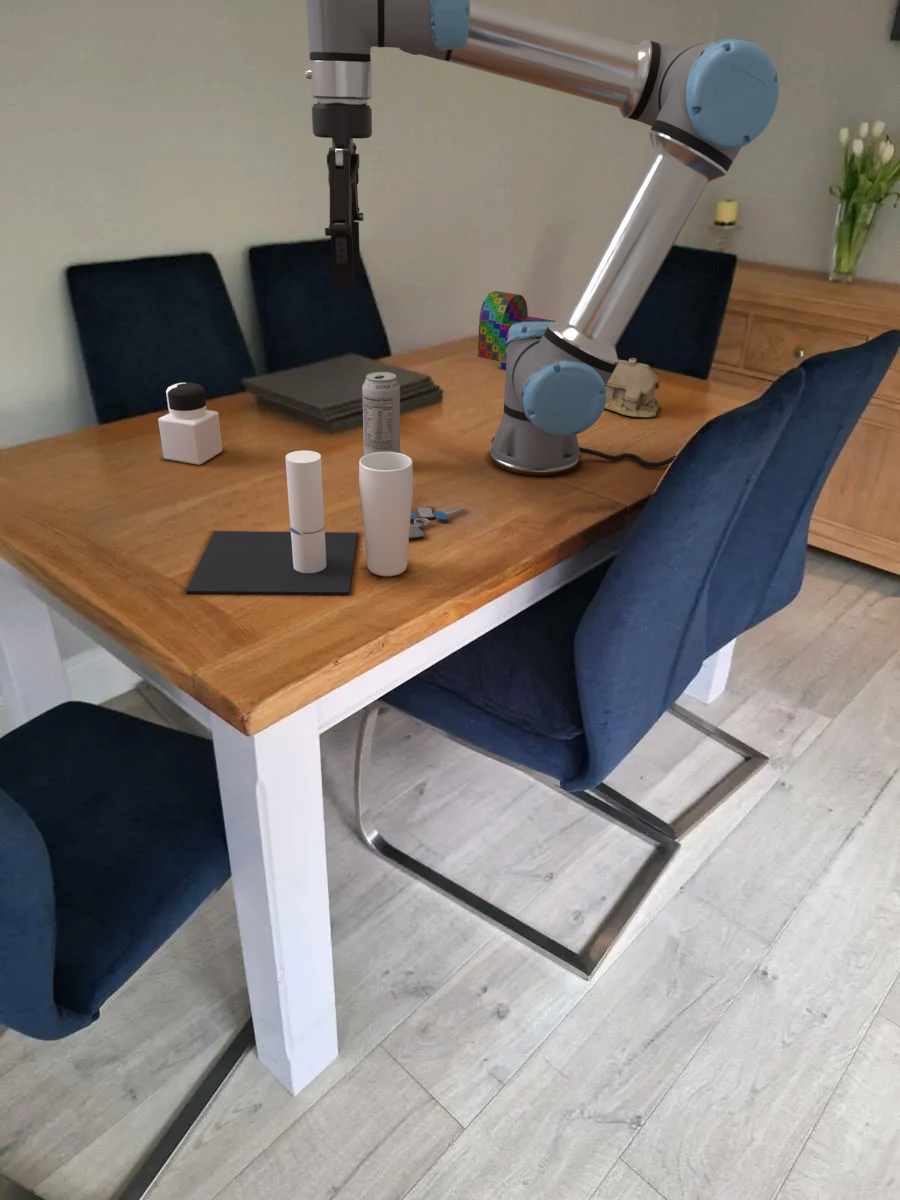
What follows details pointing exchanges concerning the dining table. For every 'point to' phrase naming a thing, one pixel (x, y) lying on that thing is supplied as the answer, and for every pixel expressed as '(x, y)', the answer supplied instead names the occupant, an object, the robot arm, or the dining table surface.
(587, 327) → the robot arm
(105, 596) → the dining table surface
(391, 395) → the energy drink can
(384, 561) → the drinking glass
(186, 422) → the medicine bottle
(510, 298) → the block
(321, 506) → the tube
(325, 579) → the charcoal mat
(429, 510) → the key chain
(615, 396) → the ceramic model
